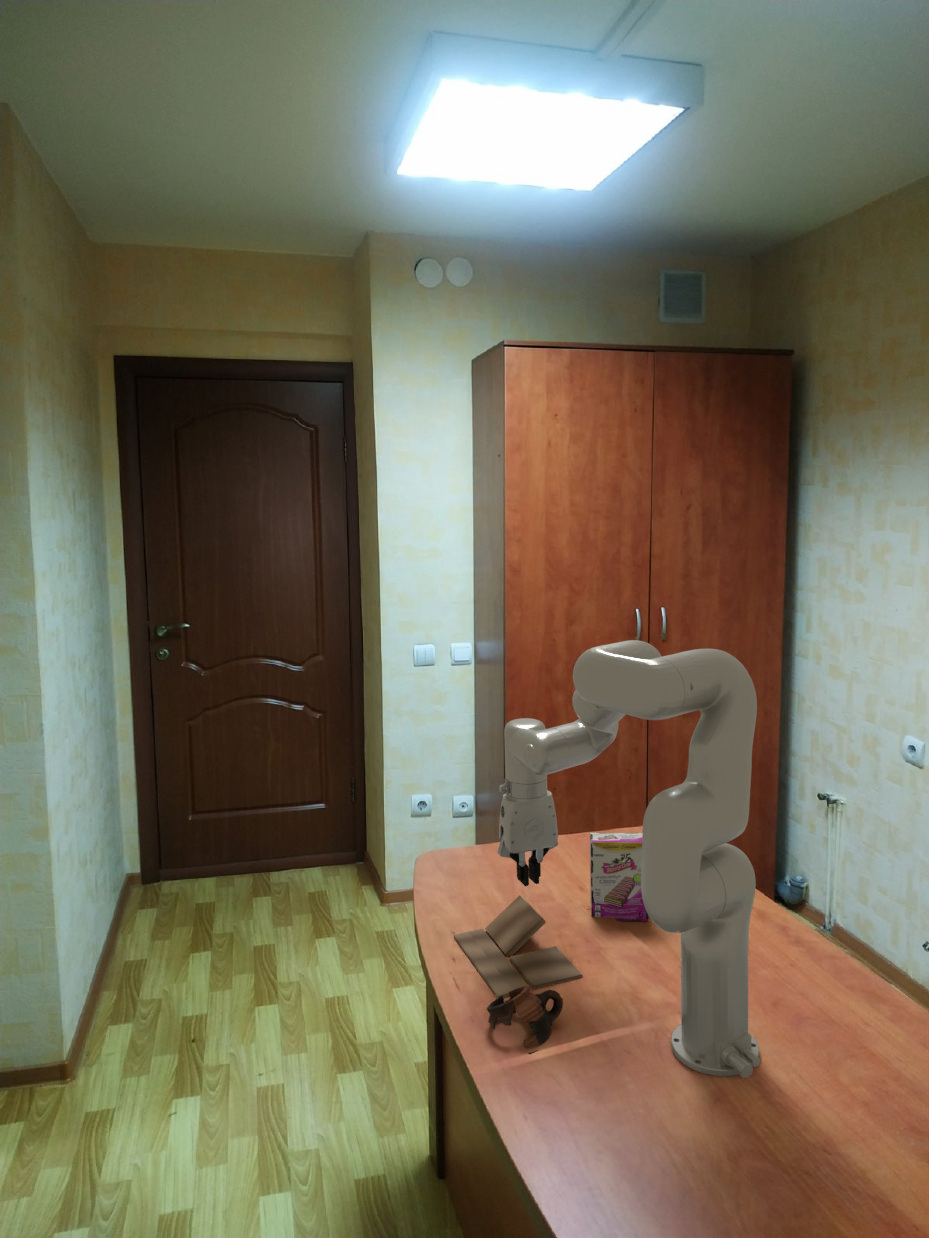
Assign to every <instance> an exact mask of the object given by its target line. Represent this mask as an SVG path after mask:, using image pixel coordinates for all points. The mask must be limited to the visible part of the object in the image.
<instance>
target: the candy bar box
mask: <svg viewBox="0 0 929 1238" xmlns="http://www.w3.org/2000/svg"><path fill="white" fill-rule="evenodd" d="M589 859H590V860H589V862H590V863H589V865H590V866H589V867H590V869H589V870H590V871H589V874H590V875H589V876H590V914H591V917H592V918H613V919H614V920H616V921H617V922H649V921H650V920H649V919H650V917H649V915H648V913H647V911H646V909H645V906H644V903H643V898H642V891H641V865H642V832H589Z"/></svg>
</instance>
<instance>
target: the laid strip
mask: <svg viewBox="0 0 929 1238" xmlns="http://www.w3.org/2000/svg"><path fill="white" fill-rule="evenodd" d="M453 939H454V940H455V941H456V942H457V944H458V946H459V947H460V948H461V950H462V951H463V953H464V954H465V956H467V958H468V960H469V961H470V962H471V964H472V965H473V966H474V967H475V969H476V970H477V972H478V973H479V975H480V976H481V977H482V979H483V981H484V982H485V983H486V985H487V986H488V988H489V989H490V990H491V992H492V993H493V994H494V995H495V997H496V999H497V998H499V997H500V996H503V999H504V998H506V997H510V996H509V992H510V991H512V990H515V989H517V988H520V987H523V986H528V988H529V991H530V992H531V986H530V985H528V982H527V981H526V980H525V979H524V977H523V976H522V975H521V974H520V972H519V971H517V970H516V967H515V966H514V965H512V962H511V961H509V959H508V958H507V956H506V955H505V954H504V952H503V951H502V950H501V949H500V947H499V946H497V944H496V942H495V941H494V940H493V939H492V937H491V936H490V935H489V934H488V932H487V931H486V930H484V928H478V929H475V930H471V931H465V932H461V933H456V934H454V935H453Z"/></svg>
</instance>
